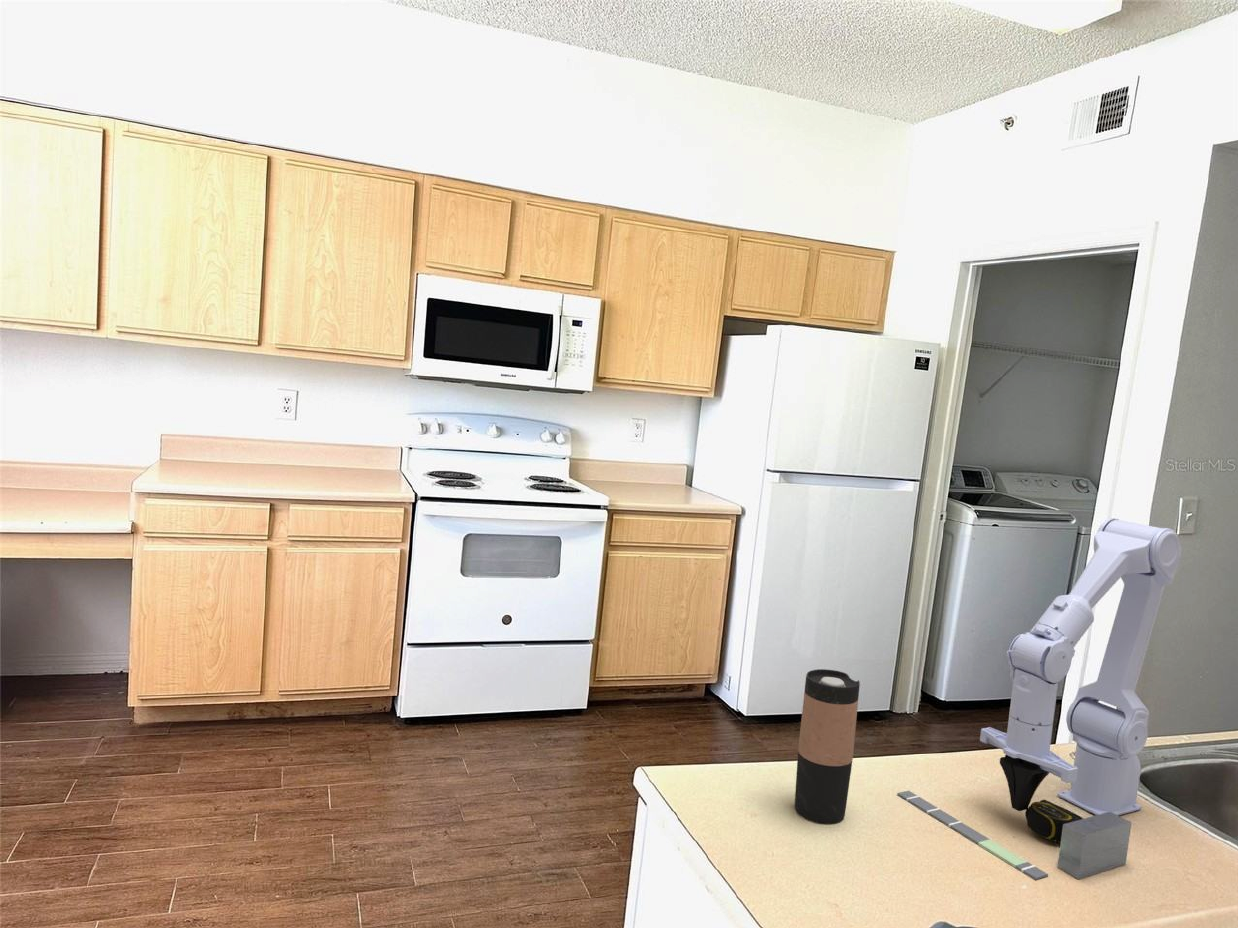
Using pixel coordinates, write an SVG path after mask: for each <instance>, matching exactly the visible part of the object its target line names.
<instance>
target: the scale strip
mask: <svg viewBox="0 0 1238 928" xmlns="http://www.w3.org/2000/svg"><path fill="white" fill-rule="evenodd" d="M896 794H897V796H898V797H900V798H901V799H903V800H905V801H906V802H908V803H909V804H911V805H912V806H914V807H916V808H918V809H920V810H921V811H923V812H924V813H926V814H927V815H929V816H930V817H933V818H934V819H935V820H937V821H938V822H940V823H942V824H944V825H946V826H947V827H948V828H949V829H952V830H953V831H955V832H957V833H958V834H960V835H962V836H964V837H965V838H966V839H968V840H969V841H971V842H973V843H975V844H976V845H978V846H979V847H981V848H982V849H984V850H986V851H987V852H989V853H991V854H992V855H994V856H995V857H997V858H999V859H1000V860H1001V861H1004V862H1005V863H1006V864H1008V865H1010V866H1011V867H1014V868H1015V869H1017V870H1018V871H1019V872H1021V873H1023V874H1025V875H1026V876H1028V877H1030V878H1032V879H1033V880H1035V881H1038V880H1040V879H1044V878H1047V877H1049V874H1048V873H1047V872H1045V871H1044V870H1042V869H1040V868H1038V867H1037V866H1036V865H1035V864H1032V863H1031V862H1029V861H1027V860H1026V859H1024V858H1023V857H1021V856H1019V855H1018V854H1015V852H1013V851H1011V850H1010V849H1008V848H1006V847H1004V845H1003V846H1002V845H1001V844H999V843H998V842H996V841H994V840H993V839H990V838H988V837H987V836H985V835H984V834H982V833H980V832H978V831H977V830H975V829H974V828H972V827H970V826H969V825H968V824H965V823H964V822H962V821H961V820H959V819H957V818H955V817H954V816H952V815H950V814H949V813H947V812H945V811H944V810H942V809H941V808H940V807H937V806H935V805H933V804H932V803H930V802H929V801H927V800H925V799H924V798H922V797H921V796H920V795H917V794H915V793H914V792H912V791H911V790H905V791H900V792H897V793H896Z"/></svg>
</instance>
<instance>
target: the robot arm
mask: <svg viewBox="0 0 1238 928" xmlns="http://www.w3.org/2000/svg"><path fill="white" fill-rule="evenodd" d="M1182 549H1183V547H1182V545H1181V542H1180V539H1179V537H1178V534H1177V532H1176V531H1175V530H1174V529H1172V528H1167V527H1159V526H1153V525H1152V526H1151V525H1147V524H1141V523H1138V522H1137V523H1136V522H1133V521H1132V522H1131V521H1126V520H1120V519H1118V518H1115V517H1112V518H1111V517H1110V518H1107V519H1106V520H1104V521H1103V522H1102V524H1101V525H1099V528H1098V530H1097V533H1095V534H1094V537H1093V553H1094V554H1093V555H1092V557H1091V558H1090V560H1089V562H1088V563H1087V565H1086V566H1085V568H1084V569H1083V571H1082V573H1081V574H1080V576H1079V577H1078V580H1077V581H1076V582H1075V584H1074V586H1073V588H1071V590H1070V592H1069V593H1068V594H1062V595H1058V596H1056V597H1055V598H1054V599H1053V601H1052V602H1051V603H1050V605H1049V606H1048V607H1047V609H1046V610H1045V611H1044V613H1043V614H1042V615H1041V617H1040V618H1039V619H1038V621H1037V622H1036V623H1035V624H1034V626H1033V627H1032V628H1031V629H1030V630H1029V632H1024V633H1021V634H1018V635H1017V636H1015V637H1014V638H1013V640H1012V641H1011V643H1010V645H1009V648H1008V650H1007V651H1006V660H1007V664H1008V666H1009V670H1010V672H1009V678H1010V680H1011V682H1012V690H1011V697H1010V707H1009V715H1008V722H1007V723H1008V724H1007V730H1006V731H1007V732H1003V731H1000V730H998V729H995V728H993V727H989V726H988V727H983V728H981V729H980V736H979V742H982V743H984V744H990V745H992V746H993V747H996V748H998V749H1000V750H1002V751H1003V752H1002V753H1003V754H1004V756H1003V757H1000V758H999V764H1000V766H1001V768H1002V771H1003V773H1004V775H1005V779H1006V783H1007V785H1008V791H1009V796H1010V803H1011V808H1012V809H1013V810H1015V811H1017V812H1021V811H1026V809H1027V808H1028V807H1030V805H1031V801H1032V799H1033V797H1034V795H1035V793H1036V791H1037V789H1038V788H1039V786H1040V785H1041V783H1042V782H1043V781H1044V779H1045V778H1046V777H1047V776H1048V775H1049V774H1052V775H1053V776H1056V777H1058V778H1060V780H1061V782H1063V783H1065V784H1069V783H1071V784H1070V789H1065V790H1062V791H1058V792H1057V793H1056V794H1057V796H1058V797H1059V798H1061V799H1064V800H1065V801H1068V802H1069V803H1071V804H1074V805H1076V806H1077V807H1078V808H1081V809H1084V810H1085V811H1087V812H1089V813H1091V814H1093V815H1094V816H1096V815H1099V814H1103V813H1107V812H1112V813H1114V814H1116V815H1118V816H1121V815H1124V814H1127V813H1131V812H1135V811H1139V810H1141V809H1142V807H1143V806H1142V805H1141V804H1139V803H1137V798H1138V790H1139V783H1140V776H1141V768H1142V767H1141V762H1140V758H1139V757H1138V756H1137V755H1139V754H1140V752H1141V751H1143V749H1144V748H1145V746H1146V744H1147V739H1148V721H1149V715H1150V711H1149V710H1148V708H1147V707H1146V705H1145V704H1144V703H1143V702H1142V700H1141V699H1140V698H1139V697H1138V695H1137V693H1136V689H1137V684H1138V682H1139V677H1140V674H1141V671H1142V667H1143V664H1144V660H1145V656H1146V653H1147V649H1148V646H1149V642H1150V640H1151V635H1152V632H1153V630H1154V626H1155V623H1156V618H1157V614H1158V610H1159V608H1160V604H1161V601H1162V596H1163V594H1164V589H1165V587H1168V586H1171V585H1173V582H1174V578H1175V575H1176V573H1177V570H1178V566H1179V562H1180V559H1181V554H1182V551H1183V550H1182ZM1120 579H1121V580H1122V583H1123V588H1122V592H1121V595H1120V599H1119V603H1118V606H1117V609H1116V612H1115V613H1116V614H1115V617H1114V620H1113V624H1112V628H1111V630H1110V634H1109V637H1108V641H1107V644H1106V647H1105V651H1104V655H1103V657H1102V662H1101V665H1100V669H1099V672H1098V676H1097V679H1096V681H1094V682H1091V683H1088V684H1086V685H1085V684H1084V685H1083V686H1080V687H1079V688H1078V691H1077V694H1076V696H1075V698H1074V700H1073V701H1072V702H1071V704H1070V705H1069V707H1068V709H1067V713H1066V716H1065V717H1066V719H1065V720H1066V726H1067V729H1068V731H1069V732H1070V733H1071V734H1072V741H1073V742H1074V743H1076V746H1075V755H1074V759H1073V760H1074V761H1073V765H1072V764H1071V763H1069V762H1068V761H1066V760H1065V759H1063V758H1061V756H1059V755H1058V754H1056V753H1054V752H1053V751H1052V750H1051V744H1052V743H1051V742H1052V734H1053V728H1054V727H1053V726H1054V725H1053V724H1054V719H1055V710H1056V704H1057V703H1056V702H1057V696H1058V695H1057V694H1058V687H1059V682H1060V681H1062V680H1063V679H1064V677H1066V676H1067V675H1068V673H1069V671H1070V669H1071V665H1072V660H1073V657H1075V653H1076V650H1075V647H1076V645H1077V644H1078V642H1079V641H1080V640H1081V639H1082V637H1084V635H1085V634H1086V632H1087V631H1088V630H1089V628H1090V626H1091V625H1092V624H1093V623H1094V621H1095V617H1094V613H1093V608H1094V607H1095V606H1096V605H1097V604H1098V603H1099V601H1101V599H1103V598H1104V597H1105V595H1106V594H1107V593H1108V592H1109V591H1110V589H1112V587H1113V586H1114V585H1115V584H1116V583H1117V582H1118V581H1119V580H1120ZM1101 702H1102V703H1101ZM1104 703H1105V704H1104ZM1106 704H1108V705H1106ZM1109 705H1111V706H1109ZM1112 706H1113V707H1112ZM1117 708H1118V709H1117Z"/></svg>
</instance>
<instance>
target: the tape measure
mask: <svg viewBox="0 0 1238 928" xmlns="http://www.w3.org/2000/svg"><path fill="white" fill-rule="evenodd" d="M1024 815H1025V820H1026V823H1027V824H1026V825H1027V827H1028V828H1029V829H1030V830H1031V831H1032V832H1033V833H1034V834H1036V835H1038V836H1039V837H1042V838H1045V839H1046V840H1049V841H1051V842H1055V843H1056V842H1057V843H1061V836H1062V829H1063V824H1066V823H1070V822H1074V821H1077V820H1081V819H1084V817H1081V816H1080V815H1079V814H1076V813H1074V812H1073V811H1071V810H1069V809H1066V808H1065V807H1063V806H1060V805H1057V804H1055V803H1053V802H1051V801H1050V800H1047V799H1044V798H1043V799H1042V800H1040V801H1035V802H1032V803H1030V804H1029V807H1028V808H1027V809H1026V810H1025V813H1024Z"/></svg>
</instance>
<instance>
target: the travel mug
mask: <svg viewBox="0 0 1238 928" xmlns="http://www.w3.org/2000/svg"><path fill="white" fill-rule="evenodd" d="M804 683H805V684H804V691H803V692H804V693H803V702H802V711H801V721H800V729H799V740H798V746H797V747H798V749H797V760H796V761H797V762H796V776H795V777H796V778H795V792H794V793H795V794H794V809H795V812H796V813H797V815H799V817H802V818H803V819H805V820H807V821H810V822H812V823H815V824H822V825H836V824H838V823H841V822H842V821H843V820H844V818H845V816H846V810H847V803H848V795H849V789H850V780H851V773H852V767H853V759H854V750H855V749H854V747H855V739H856V727H857V716H858V705H859V695H860V686H861V684H860V680H859V679H858V680H857V681H856V680H853V679H852V678H851V677H850V676H849V674H848V673H846V672H843V671H839V670H835V669H826V668H825V669H821V668H820V669H813V670H810V671H808V672H807V673H806V674H805V681H804Z"/></svg>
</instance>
